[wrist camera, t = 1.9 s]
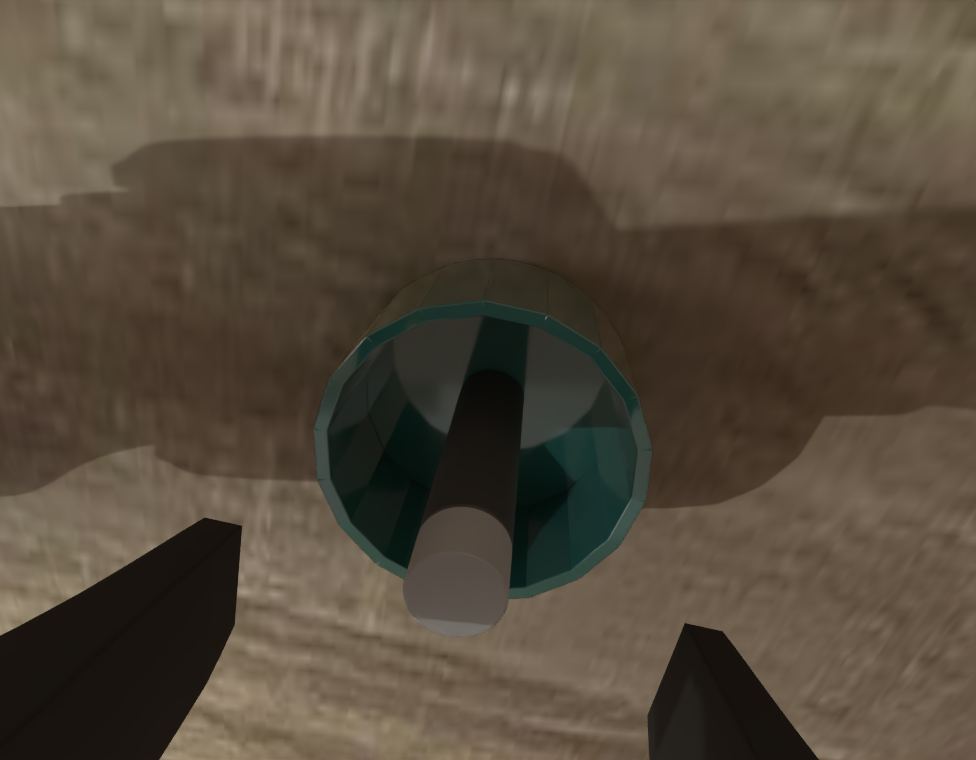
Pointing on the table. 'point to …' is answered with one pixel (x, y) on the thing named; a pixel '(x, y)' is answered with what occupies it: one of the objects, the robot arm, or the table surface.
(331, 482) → the pen cup
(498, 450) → the marker
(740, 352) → the table surface
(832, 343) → the table surface
